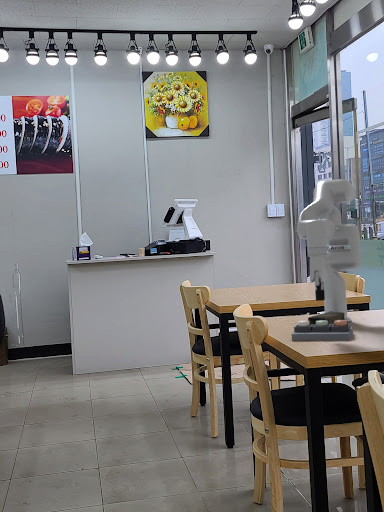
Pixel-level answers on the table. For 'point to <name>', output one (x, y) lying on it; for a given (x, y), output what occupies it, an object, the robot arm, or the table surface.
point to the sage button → (321, 323)
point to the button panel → (322, 332)
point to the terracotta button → (340, 323)
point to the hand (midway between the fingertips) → (320, 300)
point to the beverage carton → (327, 317)
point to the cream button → (303, 324)
